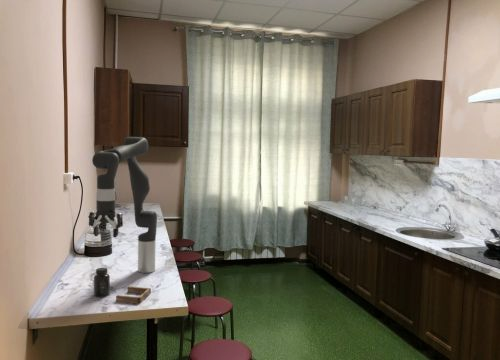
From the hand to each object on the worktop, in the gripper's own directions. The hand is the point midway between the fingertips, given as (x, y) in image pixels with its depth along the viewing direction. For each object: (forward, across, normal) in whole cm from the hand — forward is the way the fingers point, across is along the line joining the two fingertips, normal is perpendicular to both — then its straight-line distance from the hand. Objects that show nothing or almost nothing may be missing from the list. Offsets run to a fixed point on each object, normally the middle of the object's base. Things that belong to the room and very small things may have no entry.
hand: (105, 236), depth 165 cm
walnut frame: (+29, -9, -8) cm, 32 cm away
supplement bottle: (+30, +6, -8) cm, 31 cm away
